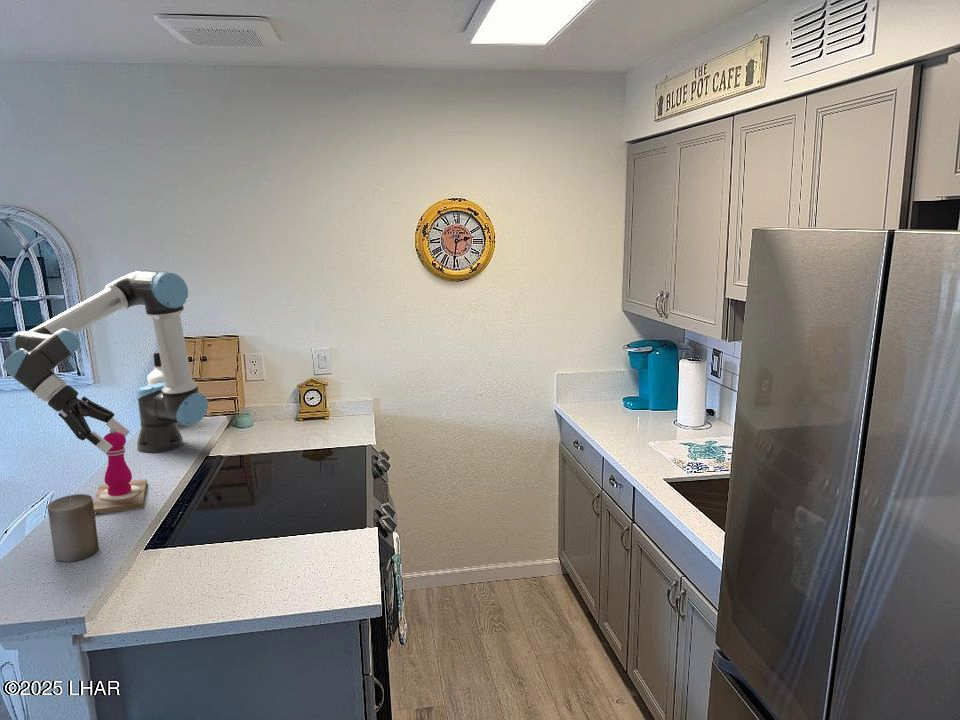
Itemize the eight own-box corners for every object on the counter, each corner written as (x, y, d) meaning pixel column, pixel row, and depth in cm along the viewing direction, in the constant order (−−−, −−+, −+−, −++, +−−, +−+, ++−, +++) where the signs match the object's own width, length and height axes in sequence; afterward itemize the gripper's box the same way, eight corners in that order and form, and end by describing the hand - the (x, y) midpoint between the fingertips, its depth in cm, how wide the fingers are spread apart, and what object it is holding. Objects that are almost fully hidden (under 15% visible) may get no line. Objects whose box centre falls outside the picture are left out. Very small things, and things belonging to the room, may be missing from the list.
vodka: (151, 424, 276) (144, 351, 270) (176, 422, 279) (170, 350, 273) (149, 430, 267) (142, 355, 261) (175, 428, 271) (169, 354, 265)
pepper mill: (122, 497, 198) (114, 432, 194) (100, 495, 200) (92, 430, 196) (138, 488, 205) (132, 424, 201) (117, 486, 207) (110, 423, 203)
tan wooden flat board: (100, 489, 210) (99, 483, 209) (146, 483, 214) (146, 477, 214) (91, 514, 191) (90, 508, 191) (142, 507, 196) (142, 501, 196)
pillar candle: (101, 541, 176) (94, 486, 173) (96, 558, 167) (88, 501, 164) (58, 548, 172) (50, 492, 169) (50, 565, 163) (41, 507, 160)
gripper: (68, 392, 207) (125, 437, 212) (26, 415, 182) (91, 466, 187) (84, 374, 206) (141, 420, 211) (45, 395, 182) (110, 447, 187)
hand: (118, 442), depth 199 cm, fingers open, 13 cm apart
